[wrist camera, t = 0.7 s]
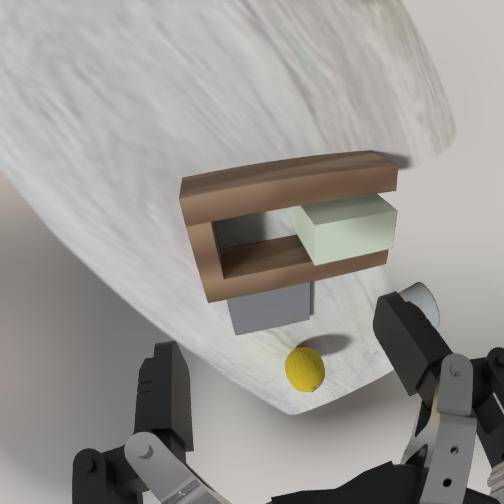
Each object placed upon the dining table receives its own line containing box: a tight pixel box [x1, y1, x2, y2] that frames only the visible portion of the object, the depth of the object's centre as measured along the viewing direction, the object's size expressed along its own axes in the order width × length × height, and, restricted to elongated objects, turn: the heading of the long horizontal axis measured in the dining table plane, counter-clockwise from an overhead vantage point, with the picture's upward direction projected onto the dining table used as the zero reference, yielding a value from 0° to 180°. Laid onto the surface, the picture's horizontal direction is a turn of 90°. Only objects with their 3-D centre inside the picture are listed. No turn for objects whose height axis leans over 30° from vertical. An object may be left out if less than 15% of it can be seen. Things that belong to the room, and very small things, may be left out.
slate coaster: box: [227, 282, 310, 335], centre depth 35 cm, size 10×10×1 cm
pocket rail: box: [179, 150, 398, 303], centre depth 28 cm, size 11×19×5 cm, turn 97°
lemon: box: [285, 347, 325, 392], centre depth 39 cm, size 6×6×8 cm
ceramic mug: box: [399, 282, 440, 328], centre depth 39 cm, size 11×8×8 cm
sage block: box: [292, 194, 397, 265], centre depth 27 cm, size 4×8×7 cm, turn 97°
